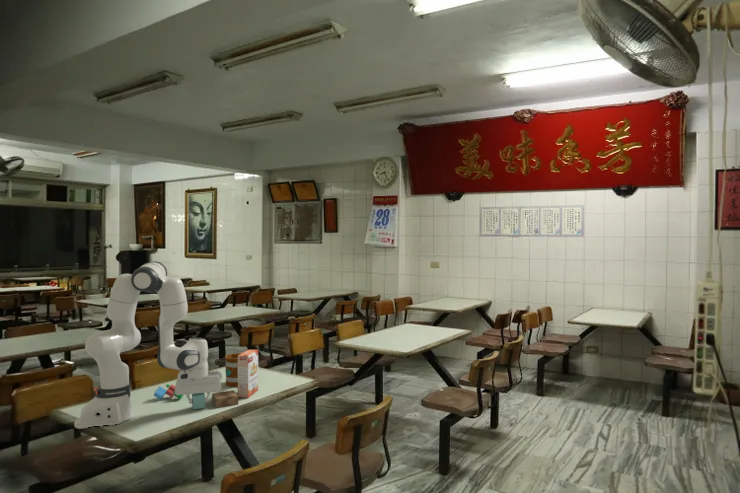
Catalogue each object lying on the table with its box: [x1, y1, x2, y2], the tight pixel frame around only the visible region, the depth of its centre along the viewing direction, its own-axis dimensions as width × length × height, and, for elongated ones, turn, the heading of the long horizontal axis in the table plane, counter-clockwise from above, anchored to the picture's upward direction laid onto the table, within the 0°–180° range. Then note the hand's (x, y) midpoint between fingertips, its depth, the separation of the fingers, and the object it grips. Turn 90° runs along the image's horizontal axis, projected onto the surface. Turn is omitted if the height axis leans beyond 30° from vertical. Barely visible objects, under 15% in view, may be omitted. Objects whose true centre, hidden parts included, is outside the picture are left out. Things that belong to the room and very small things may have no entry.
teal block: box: [191, 393, 206, 410], centre depth 225 cm, size 5×5×6 cm
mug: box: [224, 352, 242, 388], centre depth 262 cm, size 20×14×15 cm
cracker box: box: [237, 349, 259, 399], centre depth 246 cm, size 14×6×21 cm, turn 173°
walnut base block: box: [211, 389, 239, 409], centre depth 232 cm, size 10×10×4 cm
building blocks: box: [153, 383, 184, 400], centre depth 239 cm, size 8×8×12 cm
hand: (198, 402), depth 225 cm, fingers closed on teal block, 5 cm apart
